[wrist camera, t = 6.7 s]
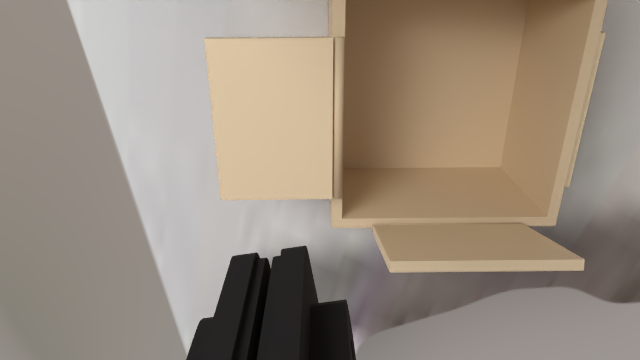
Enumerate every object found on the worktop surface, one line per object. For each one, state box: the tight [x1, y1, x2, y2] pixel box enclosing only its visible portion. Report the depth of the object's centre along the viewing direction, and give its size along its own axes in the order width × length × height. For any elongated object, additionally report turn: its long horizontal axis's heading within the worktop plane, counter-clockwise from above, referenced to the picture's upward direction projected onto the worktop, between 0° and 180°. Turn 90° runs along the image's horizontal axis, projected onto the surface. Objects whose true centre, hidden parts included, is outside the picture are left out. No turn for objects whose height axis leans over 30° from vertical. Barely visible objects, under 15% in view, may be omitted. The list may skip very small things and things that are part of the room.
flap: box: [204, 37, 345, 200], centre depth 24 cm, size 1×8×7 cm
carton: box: [328, 0, 608, 228], centre depth 28 cm, size 14×14×8 cm
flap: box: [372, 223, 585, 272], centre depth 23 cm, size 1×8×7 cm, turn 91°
